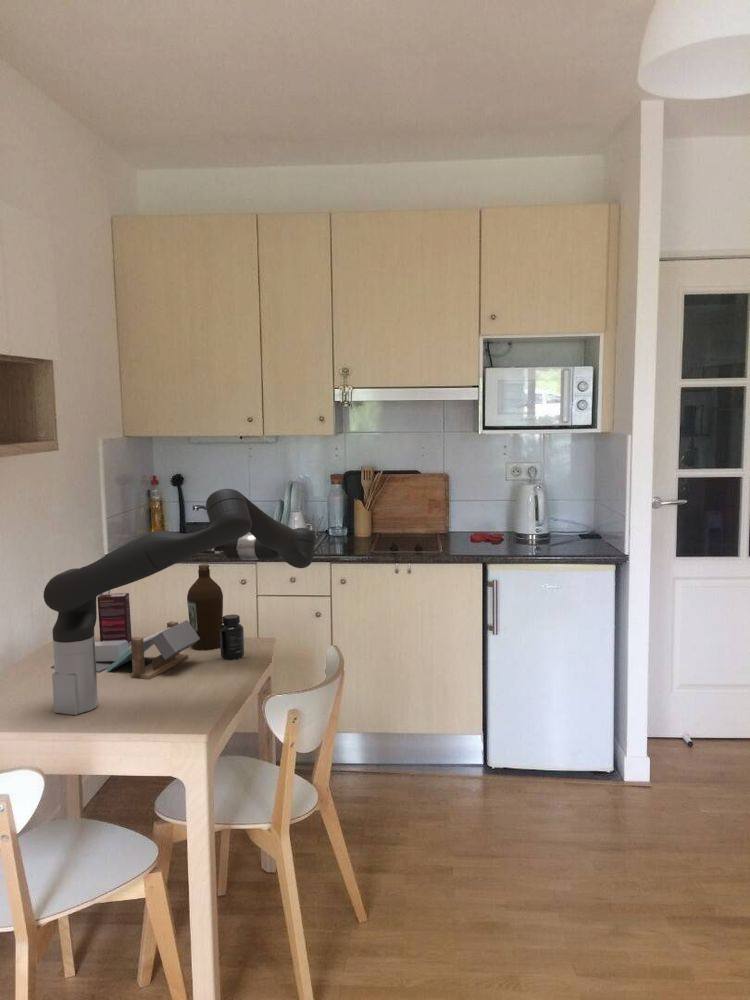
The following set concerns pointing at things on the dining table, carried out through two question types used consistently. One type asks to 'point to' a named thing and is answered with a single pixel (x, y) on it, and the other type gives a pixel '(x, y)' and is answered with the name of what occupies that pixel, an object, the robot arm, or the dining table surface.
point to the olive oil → (205, 610)
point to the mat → (100, 665)
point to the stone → (110, 650)
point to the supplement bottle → (231, 638)
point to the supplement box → (114, 617)
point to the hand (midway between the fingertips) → (192, 544)
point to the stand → (157, 663)
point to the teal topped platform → (164, 642)
